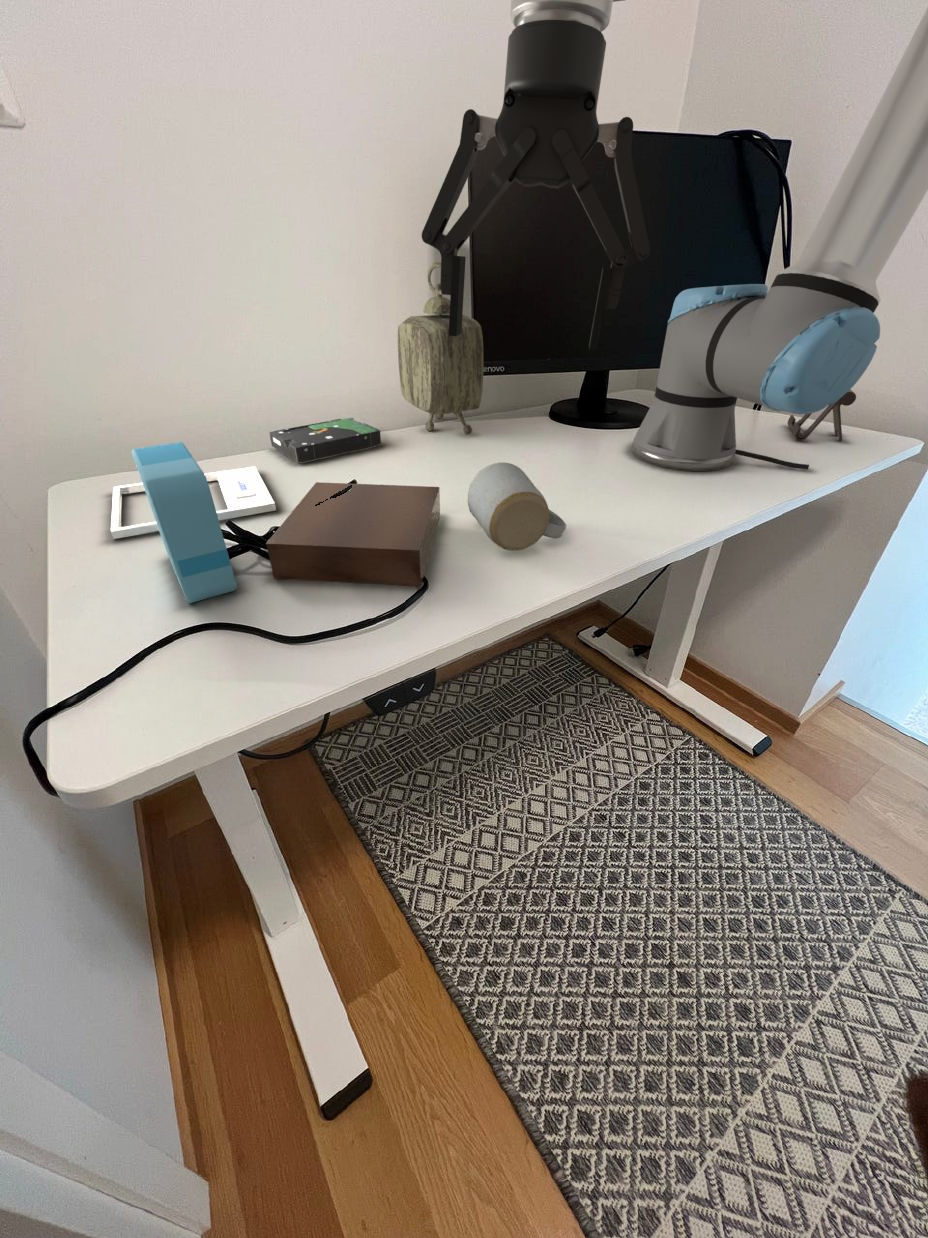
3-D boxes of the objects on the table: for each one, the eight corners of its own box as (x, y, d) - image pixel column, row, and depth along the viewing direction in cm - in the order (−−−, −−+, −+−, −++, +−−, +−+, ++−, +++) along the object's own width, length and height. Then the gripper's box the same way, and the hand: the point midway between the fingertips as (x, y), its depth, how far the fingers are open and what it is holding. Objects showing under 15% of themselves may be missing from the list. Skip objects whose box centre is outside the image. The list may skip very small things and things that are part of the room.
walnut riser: (440, 517, 67) (439, 486, 64) (421, 586, 54) (419, 550, 51) (320, 512, 68) (316, 482, 65) (273, 578, 55) (265, 543, 52)
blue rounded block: (240, 595, 52) (206, 474, 45) (190, 610, 50) (146, 485, 43) (212, 546, 60) (180, 437, 53) (168, 556, 58) (128, 445, 51)
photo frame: (274, 501, 67) (110, 529, 61) (276, 510, 68) (113, 538, 61) (254, 465, 78) (112, 485, 71) (256, 472, 79) (116, 493, 72)
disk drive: (299, 466, 82) (383, 446, 89) (295, 448, 80) (381, 428, 87) (271, 449, 88) (351, 431, 96) (267, 431, 86) (349, 414, 94)
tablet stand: (785, 426, 100) (802, 377, 95) (833, 430, 98) (852, 381, 93) (793, 440, 93) (811, 388, 88) (844, 445, 91) (866, 392, 86)
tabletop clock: (482, 436, 94) (486, 264, 79) (435, 444, 90) (431, 265, 76) (442, 416, 104) (440, 260, 90) (399, 422, 100) (389, 260, 86)
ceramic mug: (488, 559, 58) (492, 490, 54) (465, 526, 65) (467, 463, 60) (577, 547, 61) (588, 481, 57) (546, 517, 67) (554, 456, 63)
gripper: (385, 7, 40) (389, 332, 52) (739, 17, 37) (657, 359, 49) (412, 42, 46) (409, 325, 58) (717, 52, 43) (648, 348, 55)
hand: (522, 341), depth 53 cm, fingers open, 13 cm apart
